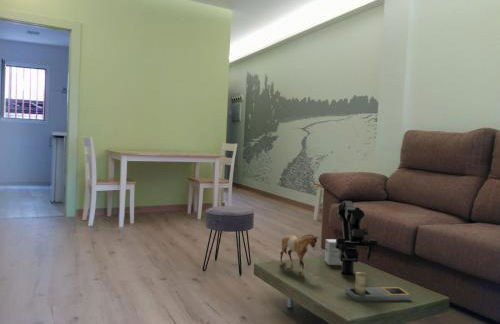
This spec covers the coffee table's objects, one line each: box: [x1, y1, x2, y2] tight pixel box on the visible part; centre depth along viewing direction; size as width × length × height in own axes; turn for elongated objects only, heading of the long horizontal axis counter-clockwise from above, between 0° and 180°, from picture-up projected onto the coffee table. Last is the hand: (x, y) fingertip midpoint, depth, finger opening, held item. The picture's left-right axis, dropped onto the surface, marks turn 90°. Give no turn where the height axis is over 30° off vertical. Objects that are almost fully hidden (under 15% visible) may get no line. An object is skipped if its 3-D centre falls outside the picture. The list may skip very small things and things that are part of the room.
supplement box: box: [324, 238, 342, 266], centre depth 222 cm, size 7×7×13 cm
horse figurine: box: [279, 234, 319, 277], centre depth 207 cm, size 31×8×21 cm, turn 25°
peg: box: [354, 271, 367, 295], centre depth 172 cm, size 4×4×10 cm
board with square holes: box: [344, 286, 412, 302], centre depth 174 cm, size 25×11×2 cm, turn 98°
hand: (358, 260), depth 180 cm, fingers open, 9 cm apart
